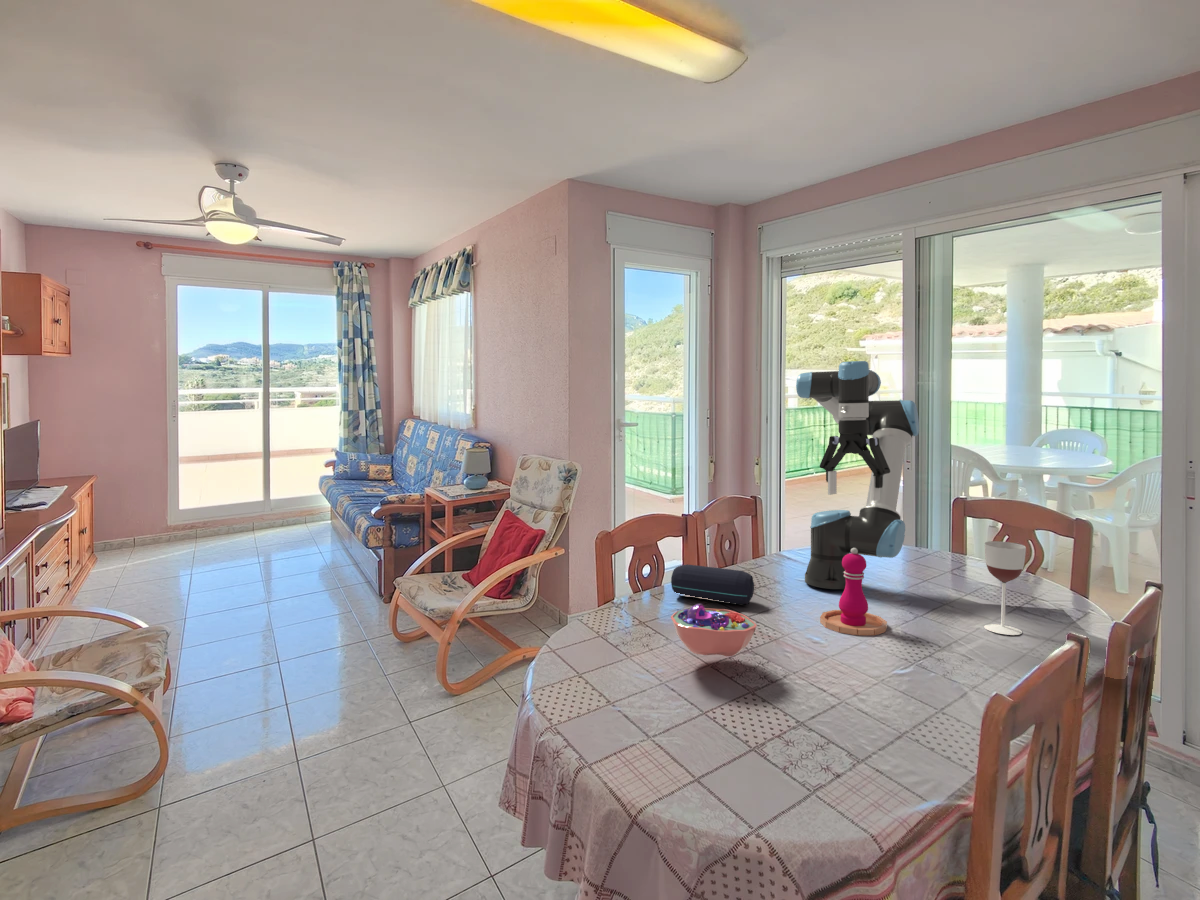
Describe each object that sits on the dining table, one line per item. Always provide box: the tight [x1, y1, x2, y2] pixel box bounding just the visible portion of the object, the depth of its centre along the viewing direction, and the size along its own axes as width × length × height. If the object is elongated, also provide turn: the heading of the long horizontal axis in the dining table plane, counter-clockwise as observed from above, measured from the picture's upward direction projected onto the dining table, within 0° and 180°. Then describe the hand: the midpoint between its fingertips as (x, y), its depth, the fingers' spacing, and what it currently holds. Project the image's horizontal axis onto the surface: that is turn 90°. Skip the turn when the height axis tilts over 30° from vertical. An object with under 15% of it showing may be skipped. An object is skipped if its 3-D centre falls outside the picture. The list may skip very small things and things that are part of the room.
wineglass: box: [983, 541, 1027, 636], centre depth 159 cm, size 9×10×22 cm
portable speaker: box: [670, 563, 755, 605], centre depth 187 cm, size 25×10×10 cm, turn 60°
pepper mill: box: [838, 548, 869, 626], centre depth 163 cm, size 7×7×20 cm
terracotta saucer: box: [819, 609, 888, 636], centre depth 164 cm, size 16×16×2 cm
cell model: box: [670, 603, 758, 658], centre depth 144 cm, size 17×20×11 cm
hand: (853, 497), depth 168 cm, fingers open, 13 cm apart
